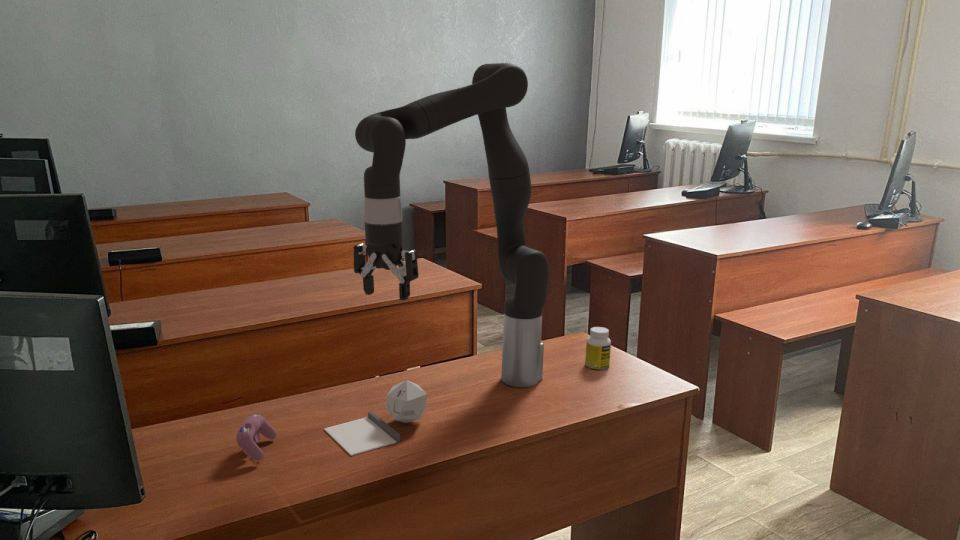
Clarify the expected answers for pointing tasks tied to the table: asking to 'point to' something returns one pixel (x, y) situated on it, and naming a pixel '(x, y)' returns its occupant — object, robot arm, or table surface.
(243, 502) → the table surface
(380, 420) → the white l-shaped plate
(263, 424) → the video game controller
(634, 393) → the table surface
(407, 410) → the die
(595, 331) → the pill bottle
